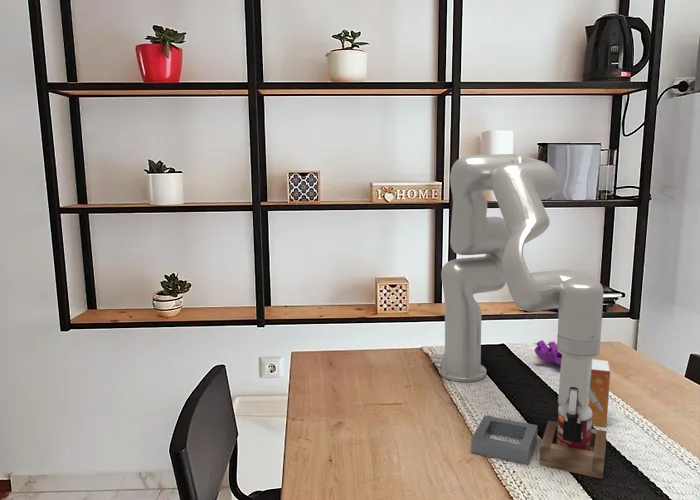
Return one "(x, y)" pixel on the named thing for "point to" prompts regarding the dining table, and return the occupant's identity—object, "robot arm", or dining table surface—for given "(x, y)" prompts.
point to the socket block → (502, 448)
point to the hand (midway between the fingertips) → (573, 431)
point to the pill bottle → (586, 428)
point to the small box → (599, 392)
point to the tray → (573, 453)
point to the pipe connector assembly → (548, 352)
